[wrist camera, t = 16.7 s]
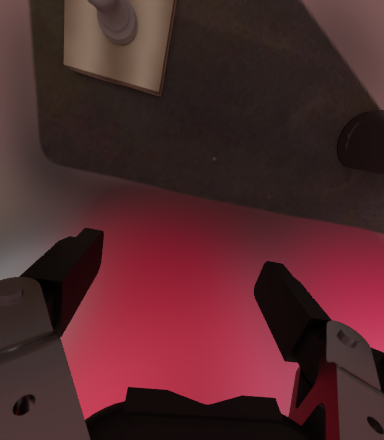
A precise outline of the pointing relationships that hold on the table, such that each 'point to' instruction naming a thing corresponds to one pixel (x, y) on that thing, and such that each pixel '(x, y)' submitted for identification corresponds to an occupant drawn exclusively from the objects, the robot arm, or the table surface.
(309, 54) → the table surface
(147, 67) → the maple plinth
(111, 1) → the rook chess piece
